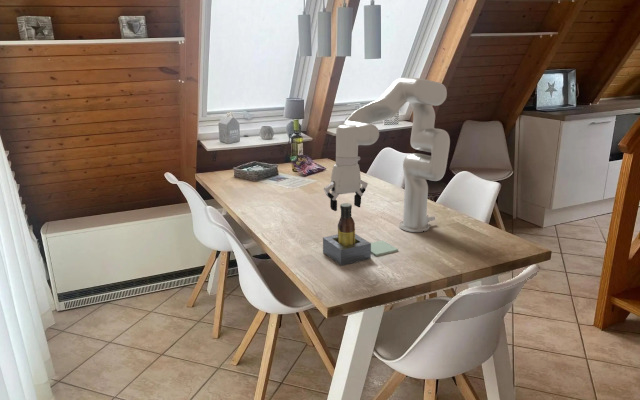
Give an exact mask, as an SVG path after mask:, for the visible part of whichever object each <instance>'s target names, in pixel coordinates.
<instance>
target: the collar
mask: <svg viewBox="0 0 640 400" xmlns="http://www.w3.org/2000/svg"><path fill="white" fill-rule="evenodd" d="M371 243H372V242H370V241H368V240H366V239H364V238H363V237H361V236H359V235H358V234H356V233H355V244H352V245H347V246H343V245H341V244H340V243H338V233H337V234H333V235H328V236H324V237H322V253H323V254H325V255H326V256H327V257H328V258H330V259H331V260H332V261H334V262H335V263H336V264H338V265H339V266H341V267H342V266H346V265H351V264H354V263H358V262H364V261H366V260H367V261H368V260H371V259H372V258H371V257H372V256H371V255H372V254H371Z"/></svg>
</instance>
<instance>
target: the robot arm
mask: <svg viewBox="0 0 640 400" xmlns="http://www.w3.org/2000/svg"><path fill="white" fill-rule="evenodd" d="M447 90H448V89H447V88H446V86H445V84H443V83H441V82H438V81H434V80H429V79H426V78H419V77H399V78H397V79H395V80H394V81H393V82H391V84H390V85H389V86H388V88H387V89H385V90H384V92H383V93H382V94H381V95H380V96H379V97H378V98H377V99H376V100H374V101H372V102H369V103H368V104H366V105H363V106H362V107H360V108H358V109H356V110H354V111H353V112H352V113H351V114H350V116H348V118H347V119H346V120H345V121H344V122H343V124H340V125H338V126H337V127H336V132H335V164H334V165H333V166H332V170H331V177H330V183H329V184H328V185H326V186H324V188H323V191H324V192H325V195H326V196H327V197H328V198H329V201H330V202H329V203H330V204H329V206H330V209H331V210H332V211H333V212H337V211H338V200H337V198H338V196H339V195H346V194H347V195H348V194H354V196H353V197H354V198H353V200H354V201H353V204H354V206H355V207H357V208H361V205H362V197H363V196H364V195H363V194H364V193H365V192H366V189H367V187H368V185H369V183H368V182H367V181H364V180H362V177H361V170H360V164H358V163H359V161H360V160H361V156H358V155H359V154H358V153H359V146H371V145H373V144H375V143H376V142H377V141H378V139H379V137H380V131H379V128H378V127H377V126H376V125H375V124H374V123H376V122H382V121H386V120H388V119H391V118H393V117H395V115H397V113H398V112H399V111H400V110H401V108H402V107H404V105H405V104H406V103H407V102H408V103H409V105H410V107H411V109H412V113H413V118H412V125H411V131H410V132H411V133H410V134H411V135H410V142H409V143H410V146H411V148H413V149H415V150H418V151H423V152H427V153H431V155H428V154H424V153H418V152H417V153H415V152H414V153H409V154H407V155H406V156H405V157H404V159H403V161H402V170H403V176H404V191H403V192H404V197H403V214H402V217H403V218H402V221H401V222H400V223H399V228H400V229H401V230H403V231H406V232H408V233H409V232H410V233H422V232H423V231H424V232H426V231H429V230H430V229H431V228H430V227H431V226H430V222H433V221H435V220H436V216H434V215H430V216H429V215H427V213H428V212H427V211H428V196H429V195H428V194H429V185H428V182H427V180H429V181H433V182H437V181H441V180H442V179H443V177H444V176H445V174H446V170H447V165H448V160H449V159H448V158H449V153H450V145H451V139H450V135H449V132H448V131H446V130H445V129H441V128H435V124H436V123H435V120H436V113H435V109H434V107H433V106H435V107H436V106H440V105H442V104H443V103H444V102H445V101H446V99H447V96H448V95H447V94H448V92H447ZM372 123H373V124H372ZM330 191H331V192H330Z"/></svg>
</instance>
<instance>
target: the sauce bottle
mask: <svg viewBox="0 0 640 400" xmlns="http://www.w3.org/2000/svg"><path fill="white" fill-rule="evenodd" d="M339 205H340V216H339V217H340V218H339V221H338V223H337V234H338V243H340V244H341V245H343V246H347V245H352V244H355V234H356V227H355V220H354V218H353V217H352V209H353V208H352V207H353V205H352V203H349V202H344V203H341V204H339Z"/></svg>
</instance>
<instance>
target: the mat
mask: <svg viewBox="0 0 640 400" xmlns="http://www.w3.org/2000/svg"><path fill="white" fill-rule="evenodd" d="M370 243H371V255H373V256H374V257H379V256H383V255H387V254H391V253H396V252H399V248H397V247H395V246H393V244H390V243H389V242H387V241H385V240H383V239H382V240H378V241H374V242H370Z"/></svg>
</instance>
